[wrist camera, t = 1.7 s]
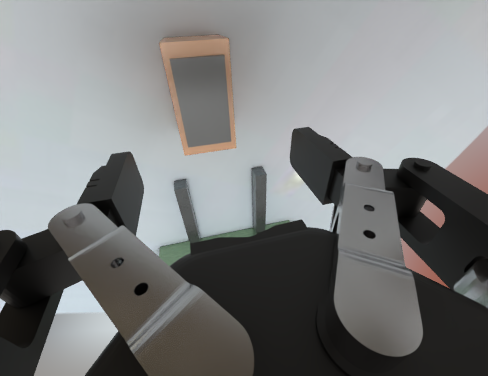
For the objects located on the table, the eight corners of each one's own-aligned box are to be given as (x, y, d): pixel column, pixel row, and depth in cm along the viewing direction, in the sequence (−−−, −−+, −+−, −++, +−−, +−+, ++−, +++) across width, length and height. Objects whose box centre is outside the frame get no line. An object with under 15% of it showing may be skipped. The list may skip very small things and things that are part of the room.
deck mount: (295, 161, 32) (320, 190, 26) (287, 232, 41) (304, 266, 36) (134, 187, 28) (123, 228, 23) (165, 259, 38) (163, 300, 32)
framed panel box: (217, 34, 21) (230, 38, 16) (225, 125, 27) (237, 150, 22) (163, 37, 20) (158, 43, 15) (183, 131, 26) (184, 158, 21)
